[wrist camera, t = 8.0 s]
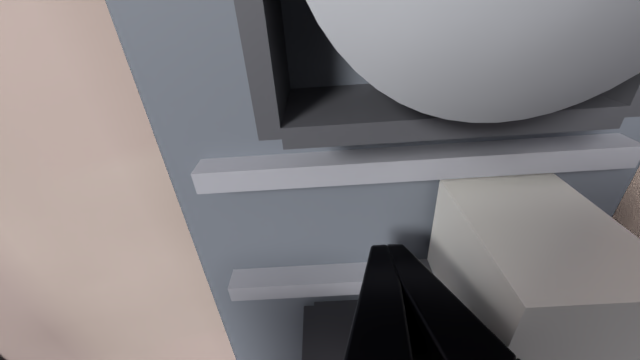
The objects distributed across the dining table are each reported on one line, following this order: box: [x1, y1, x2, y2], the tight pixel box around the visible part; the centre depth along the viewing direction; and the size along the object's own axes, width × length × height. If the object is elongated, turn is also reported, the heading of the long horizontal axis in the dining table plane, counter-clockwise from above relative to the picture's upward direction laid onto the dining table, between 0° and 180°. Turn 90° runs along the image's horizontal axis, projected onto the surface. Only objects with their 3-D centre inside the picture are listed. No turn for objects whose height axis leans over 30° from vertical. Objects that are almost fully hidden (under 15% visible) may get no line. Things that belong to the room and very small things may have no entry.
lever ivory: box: [427, 173, 640, 360], centre depth 7 cm, size 3×3×4 cm
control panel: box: [105, 0, 640, 360], centre depth 11 cm, size 13×28×4 cm, turn 4°
